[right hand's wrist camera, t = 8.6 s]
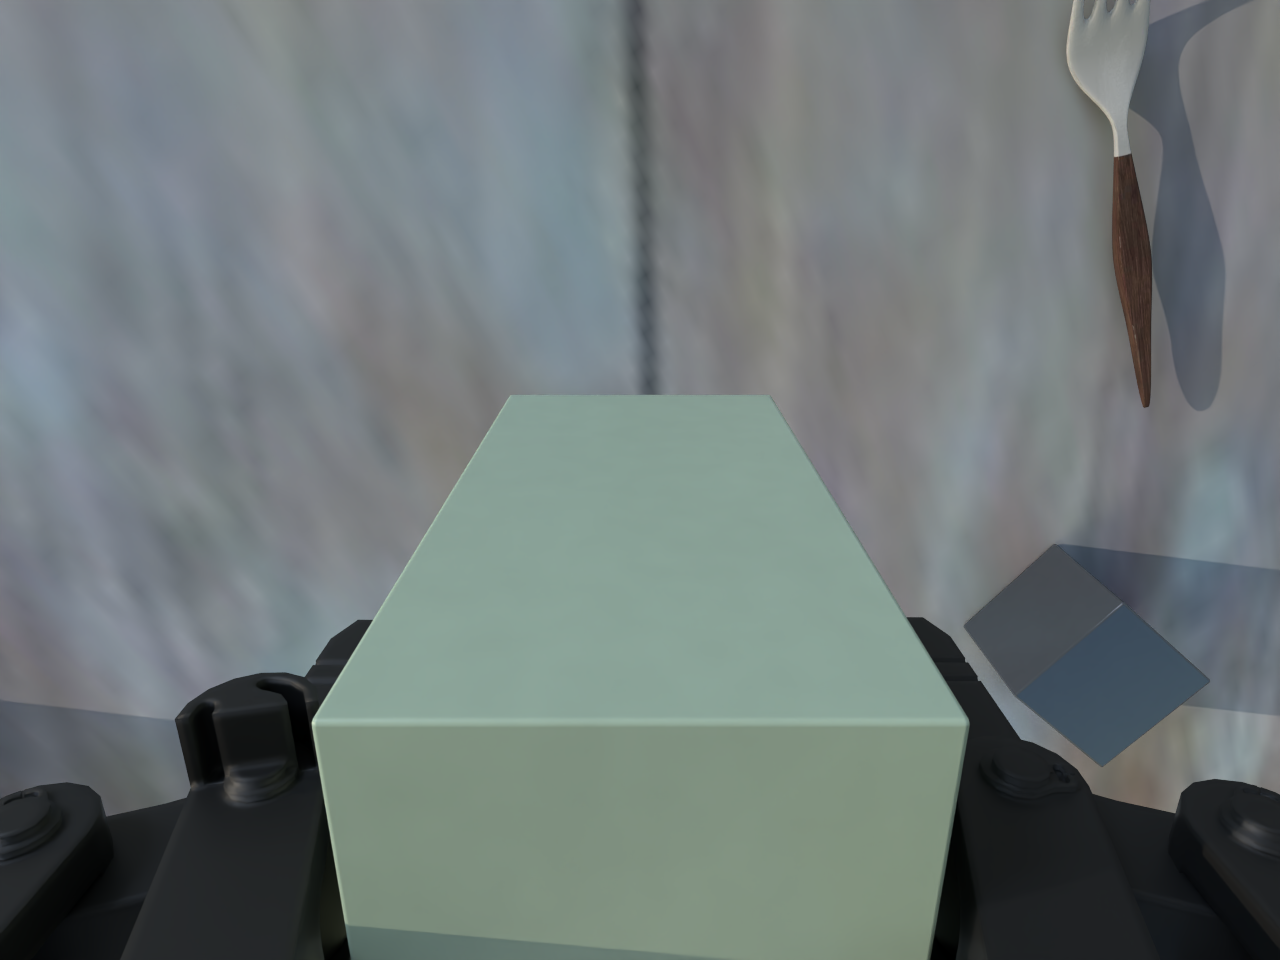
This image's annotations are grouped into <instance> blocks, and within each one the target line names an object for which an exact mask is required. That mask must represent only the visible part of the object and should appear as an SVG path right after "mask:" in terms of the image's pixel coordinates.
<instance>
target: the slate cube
mask: <svg viewBox="0 0 1280 960" xmlns="http://www.w3.org/2000/svg"><path fill="white" fill-rule="evenodd" d="M964 628H965V629H966V631H967V632H968V634H969V635H970V636H971V638H972V639H973V640H974V642H975V643H976V644H977V646H978V647H979V649H980V650H981V651H982V653H983V654H984V655H985V657H986V658H987V659H988V661H989V662H990V663H991V665H992V666H993V668H994V669H995V670H996V672H997V673H998V674H999V676H1000V677H1001V678H1002V680H1003V681H1004V683H1005V684H1006V685H1007V687H1008V688H1009V689H1010V691H1011V692H1012V693H1013V695H1014V696H1015V697H1016V698H1017V699H1019V700H1020V701H1021V702H1022V703H1024V704H1025V705H1026V706H1027V707H1028V708H1030V709H1031V710H1032V711H1033V712H1034V713H1036V714H1037V715H1038V716H1039V717H1041V718H1042V719H1043V720H1044V721H1045V722H1047V723H1048V724H1049V725H1050V726H1052V727H1053V728H1054V729H1055V730H1056V731H1058V732H1059V733H1060V734H1061V735H1062V736H1064V737H1065V738H1066V739H1067V740H1069V741H1070V742H1071V743H1072V744H1073V745H1075V746H1076V747H1077V748H1078V749H1080V750H1081V751H1082V752H1083V753H1084V754H1086V755H1087V756H1088V757H1089V758H1091V759H1092V760H1093V761H1094V762H1095V763H1097V764H1098V765H1099V766H1101V767H1103V766H1104V765H1106V764H1107V763H1108V762H1109V761H1111V760H1112V759H1113V758H1115V757H1116V756H1117V755H1118V754H1120V753H1121V752H1122V751H1123V750H1125V749H1126V748H1127V747H1128V746H1130V745H1131V744H1132V743H1133V742H1135V741H1136V740H1137V739H1139V738H1140V737H1141V736H1142V735H1144V734H1145V733H1146V732H1147V731H1149V730H1150V729H1151V728H1152V727H1154V726H1155V725H1156V724H1157V723H1159V722H1160V721H1161V720H1163V719H1164V718H1165V717H1166V716H1168V715H1169V714H1170V713H1171V712H1173V711H1174V710H1175V709H1176V708H1178V707H1179V706H1180V705H1181V704H1183V703H1184V702H1185V701H1186V700H1188V699H1189V698H1190V697H1192V696H1193V695H1194V694H1195V693H1197V692H1198V691H1199V690H1200V689H1202V688H1203V687H1204V686H1205V685H1207V684H1208V683H1209V682H1210V680H1209V678H1207V677H1206V676H1205V675H1204V674H1203V673H1202V672H1201V671H1200V670H1199V669H1197V668H1196V667H1195V666H1194V665H1193V664H1192V663H1191V662H1190V661H1189V660H1187V659H1186V658H1185V657H1184V656H1183V655H1182V654H1181V653H1180V652H1179V651H1177V650H1176V649H1175V648H1174V647H1173V646H1172V645H1171V644H1170V643H1169V642H1167V641H1166V640H1165V639H1164V638H1163V637H1162V636H1161V635H1160V634H1159V633H1157V632H1156V631H1155V630H1154V629H1153V628H1152V627H1151V626H1150V625H1149V624H1147V623H1146V622H1145V621H1144V620H1143V619H1142V618H1141V617H1140V616H1139V615H1137V614H1136V613H1135V612H1134V611H1133V610H1132V609H1131V608H1130V607H1129V606H1127V605H1126V604H1125V603H1124V602H1123V601H1122V600H1121V599H1119V598H1118V597H1117V596H1116V595H1115V594H1114V593H1112V592H1111V591H1110V590H1109V589H1108V588H1107V587H1105V586H1104V585H1103V584H1102V583H1101V582H1100V581H1098V580H1097V579H1096V578H1095V577H1094V576H1093V575H1091V574H1090V573H1089V572H1088V571H1087V570H1086V569H1084V568H1083V567H1082V566H1081V565H1080V564H1079V563H1077V562H1076V561H1075V560H1074V559H1073V558H1072V557H1071V556H1069V555H1068V554H1067V553H1066V552H1065V551H1064V550H1062V549H1061V548H1060V547H1059V546H1058V545H1056V544H1054V545H1053V546H1052V547H1050V548H1049V549H1048V550H1047V551H1046V552H1045V553H1044V554H1043V555H1042V556H1040V557H1039V558H1038V559H1037V560H1036V561H1035V562H1034V563H1033V564H1032V565H1030V566H1029V567H1028V568H1027V569H1026V570H1025V571H1024V572H1023V573H1022V574H1020V575H1019V576H1018V577H1017V578H1016V579H1015V580H1014V581H1013V582H1012V583H1010V584H1009V585H1008V586H1007V587H1006V588H1005V589H1004V590H1003V591H1002V592H1000V593H999V594H998V595H997V596H996V597H995V598H994V599H993V600H992V601H990V602H989V603H988V604H987V605H986V606H985V607H984V608H983V609H982V610H980V611H979V612H978V613H977V614H976V615H975V616H974V617H973V618H972V619H970V620H969V621H968V622H967V623H966V624H965V625H964Z"/></svg>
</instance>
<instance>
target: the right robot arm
mask: <svg viewBox="0 0 1280 960" xmlns="http://www.w3.org/2000/svg"><path fill="white" fill-rule="evenodd" d="M906 618H907V619H908V621H909V623H910V624H911V626H912V627H913V629H914V631H915V632H916V634H917V636H918V637H919V639H920V641H921V642H922V644H923V645H924V647H925V649H926V650H927V652H928V654H929V655H930V657H931V658H932V660H933V662H934V663H935V665H936V667H937V668H938V670H939V671H940V673H941V675H942V676H943V678H944V680H945V681H946V683H947V685H948V686H949V688H950V689H951V691H952V693H953V694H954V696H955V698H956V699H957V701H958V702H959V704H960V706H961V707H962V709H963V711H964V712H965V714H966V716H967V717H968V719H969V722H970V726H969V732H968V738H967V744H966V750H965V756H964V762H963V768H962V774H961V780H960V786H959V792H958V798H957V803H956V809H955V815H954V821H953V827H952V833H951V839H950V845H949V851H948V857H947V863H946V869H945V875H944V881H943V886H942V892H941V898H940V904H939V910H938V916H937V922H936V928H935V934H934V940H933V946H932V952H931V958H930V960H1280V795H1279V794H1277V793H1275V792H1273V791H1270V790H1267V789H1264V788H1262V787H1261V788H1260V787H1257V786H1255V785H1250V784H1247V783H1243V782H1236V781H1227V780H1219V779H1212V780H1206V781H1200V782H1194V783H1192V784H1191V785H1190V786H1189V787H1188V788H1186V789H1185V790H1184V791H1183V792H1182V793H1181V796H1180V799H1179V803H1178V806H1177V810H1176V813H1171V812H1166V811H1161V810H1157V809H1152V808H1148V807H1143V806H1138V805H1134V804H1129V803H1125V802H1120V801H1116V800H1112V799H1109V798H1105V797H1102V796H1098V795H1095V794H1092V792H1091V790H1090V787H1089V786H1088V784H1087V783H1086V781H1085V780H1084V779H1083V777H1082V776H1081V774H1080V773H1079V771H1078V770H1077V769H1076V768H1075V767H1073V766H1072V765H1071V764H1069V763H1068V762H1067V761H1066V760H1064V759H1063V758H1062V757H1060V756H1059V755H1058V754H1056V753H1054V752H1052V751H1050V750H1047V749H1045V748H1043V747H1041V746H1039V745H1037V744H1035V743H1032V742H1028V741H1024V740H1021V739H1020V738H1019V736H1018V735H1017V733H1016V732H1015V730H1014V729H1013V727H1012V726H1011V725H1010V723H1009V722H1008V720H1007V719H1006V717H1005V716H1004V714H1003V713H1002V711H1001V710H1000V708H999V707H998V706H997V704H996V703H995V701H994V700H993V698H992V697H991V695H990V694H989V692H988V691H987V689H986V688H985V687H984V685H983V684H982V682H981V681H978V679H977V677H978V676H977V675H976V673H975V672H974V671H973V669H972V668H971V666H970V665H969V663H965V657H964V656H963V654H962V653H961V652H960V650H959V649H958V647H957V646H956V644H955V643H954V641H953V640H952V638H951V637H950V636H949V635H948V634H946V633H945V632H943V631H942V630H940V629H939V628H937V627H936V626H935V625H933V624H932V623H930V622H929V621H927V620H926V619H924V618H923V617H906ZM372 621H373V620H357V621H356V622H354V623H353V624H351V625H350V626H349V627H347V628H346V629H344V630H343V631H341V632H340V633H339V634H337V635H336V636H334V637H333V638H331V639H330V641H329V642H328V644H327V645H326V647H325V648H324V650H323V651H322V653H321V654H320V656H319V657H318V659H317V660H316V665H313V666H312V667H311V669H310V670H309V672H308V673H307V675H306V676H305V677H301V676H297V675H293V674H289V673H259V674H254V675H250V676H245V677H240V678H236V679H233V680H230V681H228V682H225V683H223V684H220V685H218V686H215V687H213V688H211V689H208V690H207V691H205V692H204V693H202V694H201V695H199V696H198V697H196V698H195V699H193V700H192V701H190V702H189V703H188V704H187V705H186V706H185V707H184V709H183V710H182V711H181V712H180V714H179V715H178V716H177V717H176V718H175V722H176V726H177V730H178V734H179V739H180V743H181V747H182V751H183V756H184V760H185V764H186V768H187V773H188V777H189V781H190V785H191V789H190V791H189V794H188V796H187V798H184V799H181V800H177V801H174V802H170V803H167V804H162V805H158V806H153V807H149V808H144V809H139V810H135V811H130V812H126V813H121V814H117V815H112V816H107V817H106V815H105V811H104V808H103V804H102V801H101V797H100V796H99V795H98V794H97V793H96V792H95V791H94V790H92V789H91V788H90V787H89V786H85V785H79V784H73V783H58V784H49V785H41V786H36V787H33V788H29V789H25V790H24V791H19V792H16V793H13V794H10V795H8V796H5V797H3V798H2V799H0V960H351V956H350V950H349V945H348V939H347V933H346V927H345V921H344V915H343V909H342V903H341V897H340V891H339V885H338V879H337V873H336V867H335V861H334V855H333V849H332V843H331V837H330V831H329V825H328V819H327V813H326V807H325V801H324V795H323V789H322V784H321V778H320V772H319V766H318V760H317V754H316V748H315V742H314V736H313V730H312V720H313V718H314V716H315V715H316V713H317V711H318V710H319V708H320V706H321V705H322V703H323V701H324V700H325V698H326V697H327V695H328V693H329V692H330V690H331V688H332V687H333V685H334V683H335V682H336V680H337V678H338V677H339V675H340V674H341V672H342V670H343V669H344V667H345V665H346V664H347V662H348V660H349V659H350V657H351V656H352V654H353V652H354V651H355V649H356V647H357V646H358V644H359V642H360V641H361V639H362V638H363V636H364V634H365V633H366V631H367V629H368V628H369V626H370V624H371V623H372Z"/></svg>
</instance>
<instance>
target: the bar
mask: <svg viewBox="0 0 1280 960" xmlns="http://www.w3.org/2000/svg"><path fill="white" fill-rule="evenodd" d="M969 726H970V722H969V719H968V717H967V716H966V714H965V712H964V711H963V709H962V707H961V706H960V704H959V702H958V701H957V699H956V698H955V696H954V694H953V693H952V691H951V689H950V688H949V686H948V685H947V683H946V681H945V680H944V678H943V676H942V675H941V673H940V671H939V670H938V668H937V667H936V665H935V663H934V662H933V660H932V658H931V657H930V655H929V654H928V652H927V650H926V649H925V647H924V645H923V644H922V642H921V641H920V639H919V637H918V636H917V634H916V632H915V631H914V629H913V627H912V626H911V624H910V623H909V621H908V619H907V618H906V616H905V614H904V613H903V611H902V610H901V608H900V606H899V605H898V603H897V601H896V600H895V598H894V596H893V595H892V593H891V592H890V590H889V588H888V587H887V585H886V583H885V582H884V580H883V579H882V577H881V575H880V574H879V572H878V570H877V569H876V567H875V565H874V564H873V562H872V561H871V559H870V557H869V556H868V554H867V552H866V551H865V549H864V548H863V546H862V544H861V543H860V541H859V539H858V538H857V536H856V535H855V533H854V531H853V530H852V528H851V526H850V525H849V523H848V521H847V520H846V518H845V517H844V515H843V513H842V512H841V510H840V508H839V507H838V505H837V504H836V502H835V500H834V499H833V497H832V495H831V494H830V492H829V490H828V489H827V487H826V486H825V484H824V482H823V481H822V479H821V477H820V476H819V474H818V473H817V471H816V469H815V468H814V466H813V464H812V463H811V461H810V460H809V458H808V456H807V455H806V453H805V451H804V450H803V448H802V446H801V445H800V443H799V442H798V440H797V438H796V437H795V435H794V433H793V432H792V430H791V429H790V427H789V425H788V424H787V422H786V420H785V419H784V417H783V415H782V414H781V412H780V411H779V409H778V407H777V406H776V404H775V402H774V401H773V399H772V398H771V396H769V395H511V396H509V398H508V400H507V401H506V403H505V405H504V406H503V408H502V410H501V411H500V413H499V415H498V416H497V418H496V419H495V421H494V423H493V424H492V426H491V428H490V429H489V431H488V433H487V434H486V436H485V437H484V439H483V441H482V442H481V444H480V446H479V447H478V449H477V451H476V452H475V454H474V456H473V457H472V459H471V460H470V462H469V464H468V465H467V467H466V469H465V470H464V472H463V474H462V475H461V477H460V478H459V480H458V482H457V483H456V485H455V487H454V488H453V490H452V492H451V493H450V495H449V497H448V498H447V500H446V501H445V503H444V505H443V506H442V508H441V510H440V511H439V513H438V515H437V516H436V518H435V519H434V521H433V523H432V524H431V526H430V528H429V529H428V531H427V533H426V534H425V536H424V537H423V539H422V541H421V542H420V544H419V546H418V547H417V549H416V551H415V552H414V554H413V556H412V557H411V559H410V560H409V562H408V564H407V565H406V567H405V569H404V570H403V572H402V574H401V575H400V577H399V578H398V580H397V582H396V583H395V585H394V587H393V588H392V590H391V592H390V593H389V595H388V597H387V598H386V600H385V601H384V603H383V605H382V606H381V608H380V610H379V611H378V613H377V615H376V616H375V618H374V619H373V621H372V623H371V624H370V626H369V628H368V629H367V631H366V633H365V634H364V636H363V638H362V639H361V641H360V642H359V644H358V646H357V647H356V649H355V651H354V652H353V654H352V656H351V657H350V659H349V660H348V662H347V664H346V665H345V667H344V669H343V670H342V672H341V674H340V675H339V677H338V678H337V680H336V682H335V683H334V685H333V687H332V688H331V690H330V692H329V693H328V695H327V697H326V698H325V700H324V701H323V703H322V705H321V706H320V708H319V710H318V711H317V713H316V715H315V716H314V718H313V720H312V730H313V736H314V742H315V748H316V754H317V760H318V766H319V772H320V778H321V784H322V789H323V795H324V801H325V807H326V813H327V819H328V825H329V831H330V837H331V843H332V849H333V855H334V861H335V867H336V873H337V879H338V885H339V891H340V897H341V903H342V909H343V915H344V921H345V927H346V933H347V939H348V945H349V950H350V956H351V960H930V958H931V952H932V946H933V940H934V934H935V928H936V922H937V916H938V910H939V904H940V898H941V892H942V886H943V881H944V875H945V869H946V863H947V857H948V851H949V845H950V839H951V833H952V827H953V821H954V815H955V809H956V803H957V798H958V792H959V786H960V780H961V774H962V768H963V762H964V756H965V750H966V744H967V738H968V732H969Z"/></svg>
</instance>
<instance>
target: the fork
mask: <svg viewBox="0 0 1280 960" xmlns="http://www.w3.org/2000/svg"><path fill="white" fill-rule="evenodd" d="M1106 1H1107V0H1095V2H1094V7H1093V10H1092V13H1091V15H1090V17H1089V18H1088V19H1085V18H1084V0H1074V2H1073V8H1072V13H1071V19H1070V25H1069V31H1068V38H1067V48H1066V55H1067V63H1068V67H1069V70H1070V72H1071V74H1072V76H1073V78H1074V80H1075V81H1076V83H1077V84H1078V85H1079V87H1080V88H1081V89H1082V90H1083V91H1084V92H1085V93H1086V94H1087V95H1088V96H1089V97H1090V98H1091V99H1092V100H1093V101H1094V102H1095V103H1096V104H1097V105H1098V106H1099V108H1100V109H1101V110H1102V111H1103V112H1104V113H1105V115H1106V116H1107V117H1108V119H1109V121H1110V123H1111V126H1112V129H1113V136H1114V177H1113V213H1112V245H1113V260H1114V268H1115V275H1116V280H1117V285H1118V290H1119V294H1120V298H1121V303H1122V307H1123V312H1124V316H1125V320H1126V325H1127V330H1128V335H1129V340H1130V346H1131V351H1132V357H1133V363H1134V368H1135V373H1136V379H1137V384H1138V389H1139V393H1140V397H1141V401H1142V405H1143V407H1144V408H1145V407H1149V404H1150V391H1151V303H1152V259H1151V249H1150V242H1149V235H1148V230H1147V225H1146V220H1145V215H1144V210H1143V205H1142V200H1141V196H1140V191H1139V187H1138V182H1137V178H1136V173H1135V168H1134V164H1133V159H1132V154H1131V149H1130V144H1129V138H1128V130H1127V116H1128V109H1129V105H1130V100H1131V97H1132V93H1133V90H1134V87H1135V84H1136V80H1137V77H1138V74H1139V71H1140V68H1141V64H1142V60H1143V57H1144V52H1145V48H1146V42H1147V36H1148V27H1149V13H1150V0H1136V1H1135V3H1134V4H1132V5H1131V4H1130V3H1129V0H1116V2H1115V5H1114V7H1113V9H1112V10H1111V11H1110V12H1108V11H1107V8H1106Z"/></svg>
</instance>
